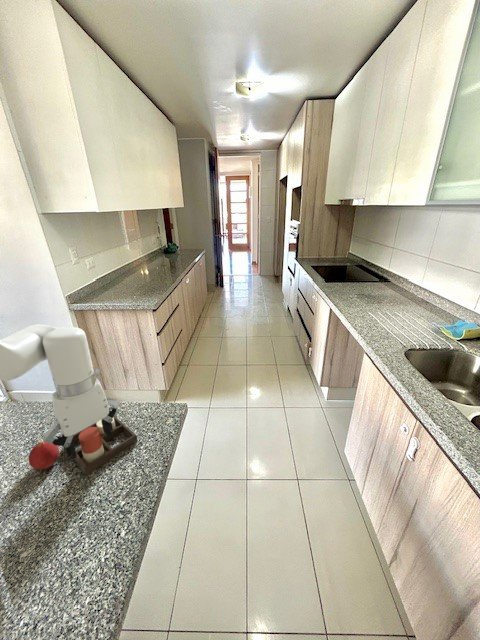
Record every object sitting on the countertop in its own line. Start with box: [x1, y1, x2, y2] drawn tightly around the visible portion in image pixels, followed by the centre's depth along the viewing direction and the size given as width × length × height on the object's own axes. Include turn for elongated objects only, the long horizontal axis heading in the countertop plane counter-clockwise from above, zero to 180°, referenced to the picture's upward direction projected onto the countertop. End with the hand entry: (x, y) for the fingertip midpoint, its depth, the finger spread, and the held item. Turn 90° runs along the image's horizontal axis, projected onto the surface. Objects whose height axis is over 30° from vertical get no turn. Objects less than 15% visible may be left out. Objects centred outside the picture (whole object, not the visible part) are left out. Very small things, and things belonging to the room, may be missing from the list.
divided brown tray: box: [71, 415, 138, 477], centre depth 69 cm, size 13×13×3 cm
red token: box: [78, 427, 102, 454], centre depth 63 cm, size 4×4×4 cm
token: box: [96, 418, 117, 436], centre depth 72 cm, size 4×4×4 cm
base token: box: [82, 445, 105, 465], centre depth 64 cm, size 4×4×4 cm
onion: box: [28, 440, 60, 470], centre depth 62 cm, size 6×6×8 cm
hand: (91, 443), depth 63 cm, fingers open, 7 cm apart
